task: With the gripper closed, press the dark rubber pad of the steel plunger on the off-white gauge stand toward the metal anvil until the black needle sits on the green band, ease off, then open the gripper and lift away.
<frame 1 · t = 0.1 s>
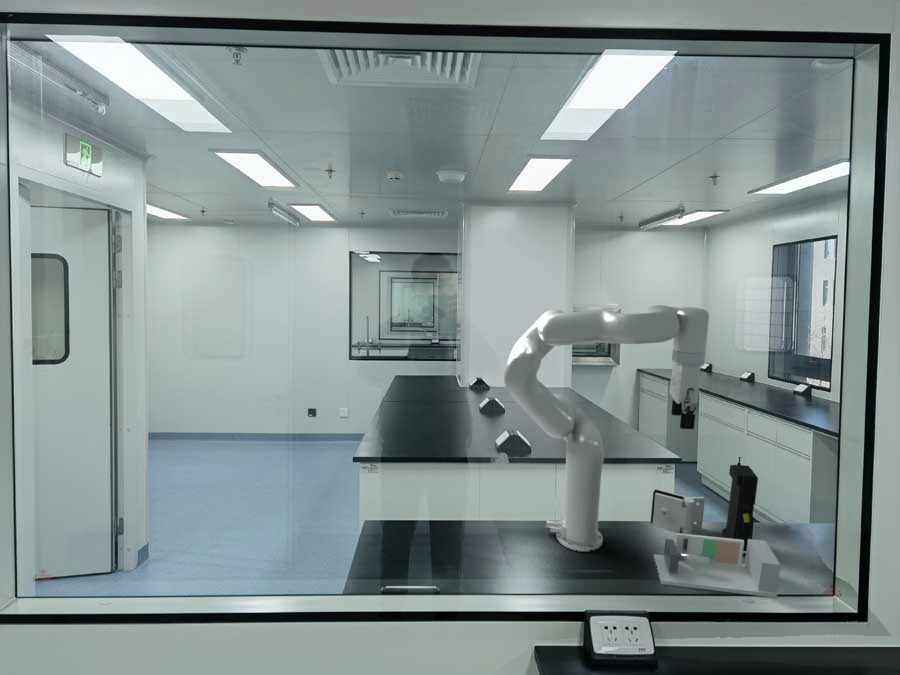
hand: (682, 421, 142), 37 cm above the lab bench, tool pointing down, fingers open, 9 cm apart
plunger: (690, 556, 138), point 5 cm above the lab bench, slide at 0.0 cm
gauge stand: (711, 576, 138), on the lab bench
portable radio: (736, 548, 150), on the lab bench
hinge: (676, 527, 160), on the lab bench
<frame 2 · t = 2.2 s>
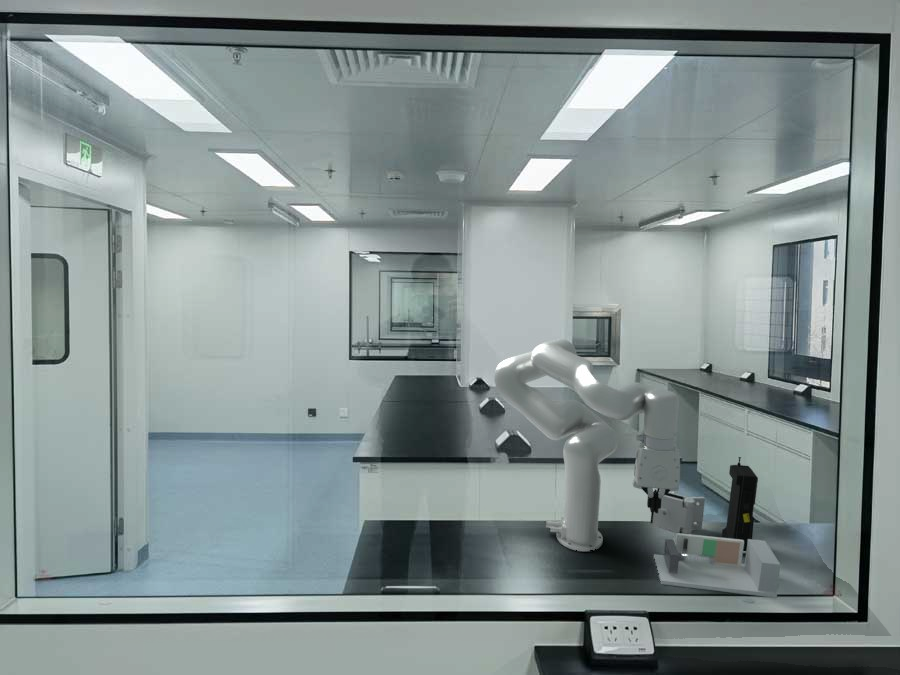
hand: (653, 510, 137), 17 cm above the lab bench, tool pointing down, fingers closed
nothing on the lab bench moved.
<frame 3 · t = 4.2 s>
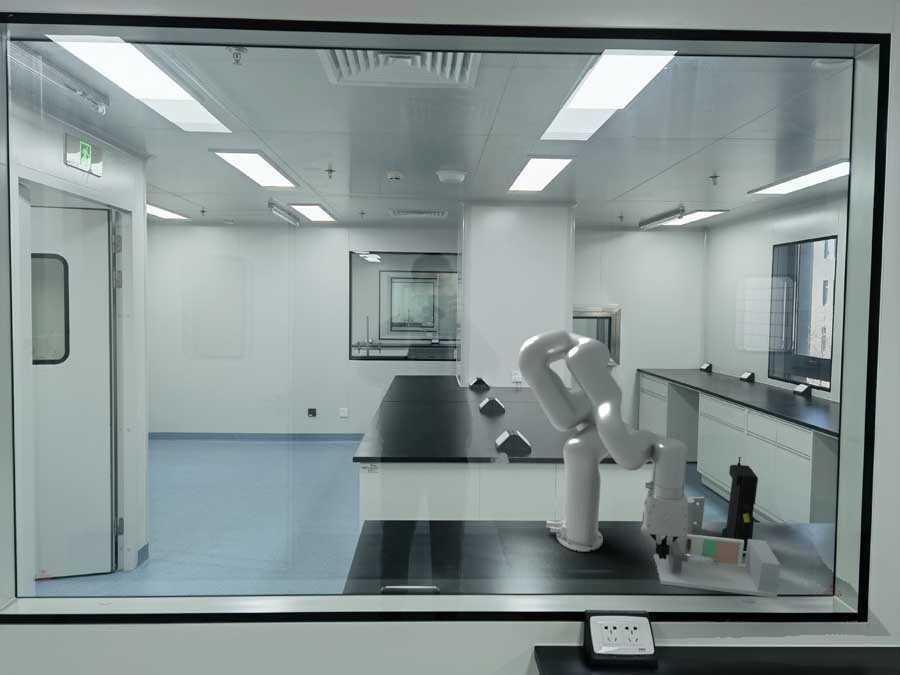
hand: (661, 555, 139), 4 cm above the lab bench, tool pointing down, fingers closed
plunger: (693, 557, 138), point 5 cm above the lab bench, slide at 0.8 cm, touching gripper
everything else where it was.
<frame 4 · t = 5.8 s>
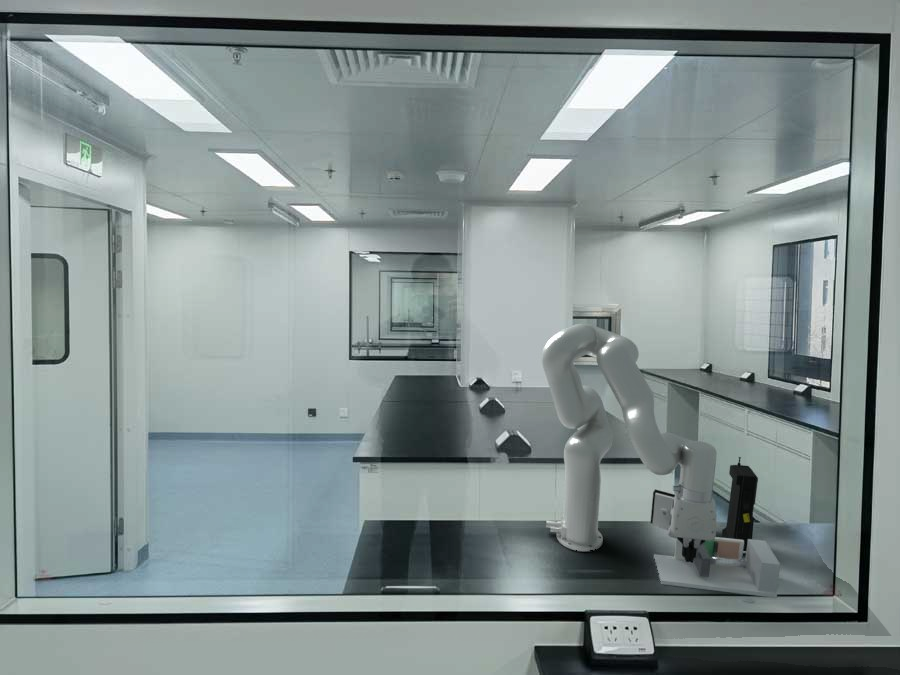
hand: (688, 559, 138), 4 cm above the lab bench, tool pointing down, fingers closed
plunger: (721, 560, 137), point 5 cm above the lab bench, slide at 7.2 cm, touching gripper
everything else where it was.
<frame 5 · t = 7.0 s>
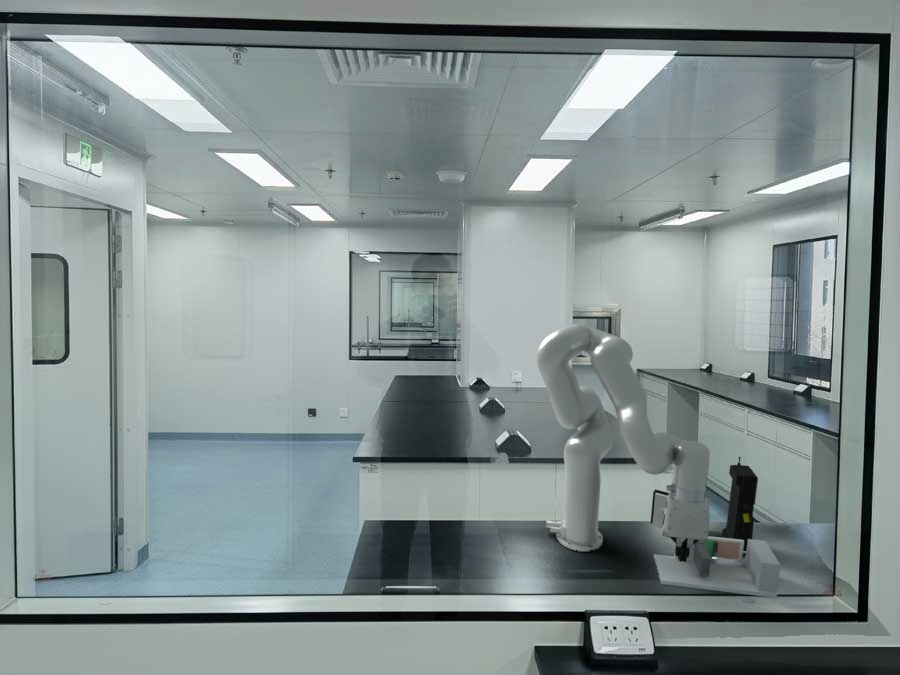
hand: (681, 558, 139), 4 cm above the lab bench, tool pointing down, fingers closed
plunger: (721, 560, 137), point 5 cm above the lab bench, slide at 7.2 cm
everything else where it was.
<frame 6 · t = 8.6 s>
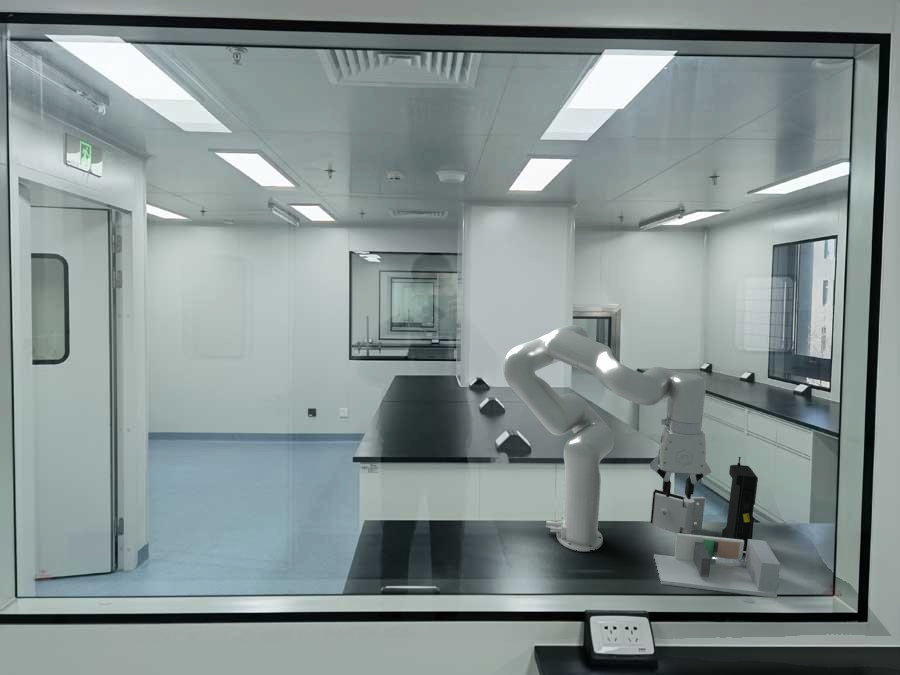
hand: (677, 494, 135), 21 cm above the lab bench, tool pointing down, fingers open, 4 cm apart
nothing on the lab bench moved.
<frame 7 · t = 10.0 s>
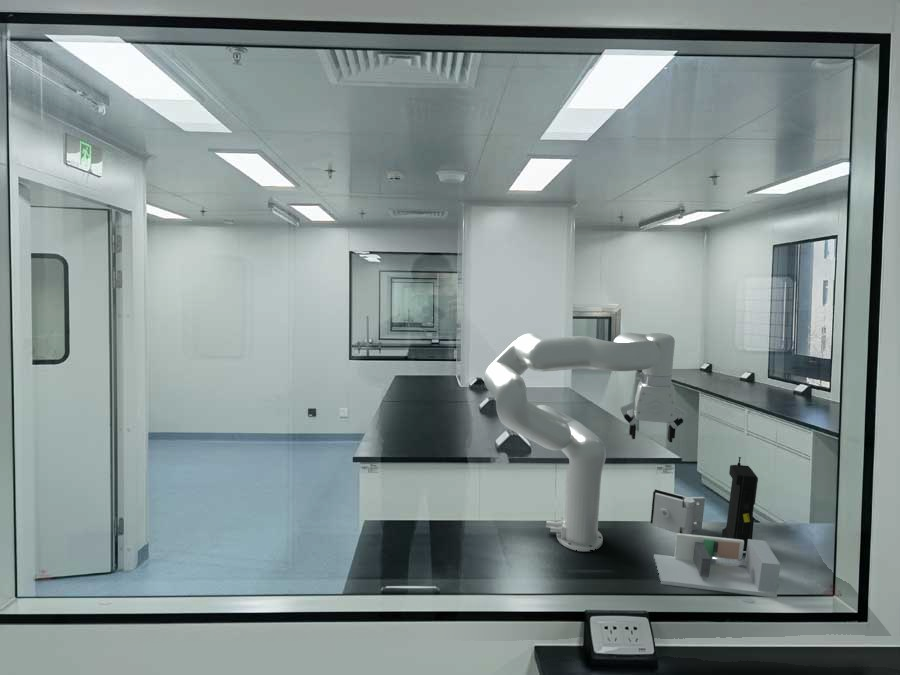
hand: (651, 438, 152), 28 cm above the lab bench, tool pointing down, fingers open, 9 cm apart
nothing on the lab bench moved.
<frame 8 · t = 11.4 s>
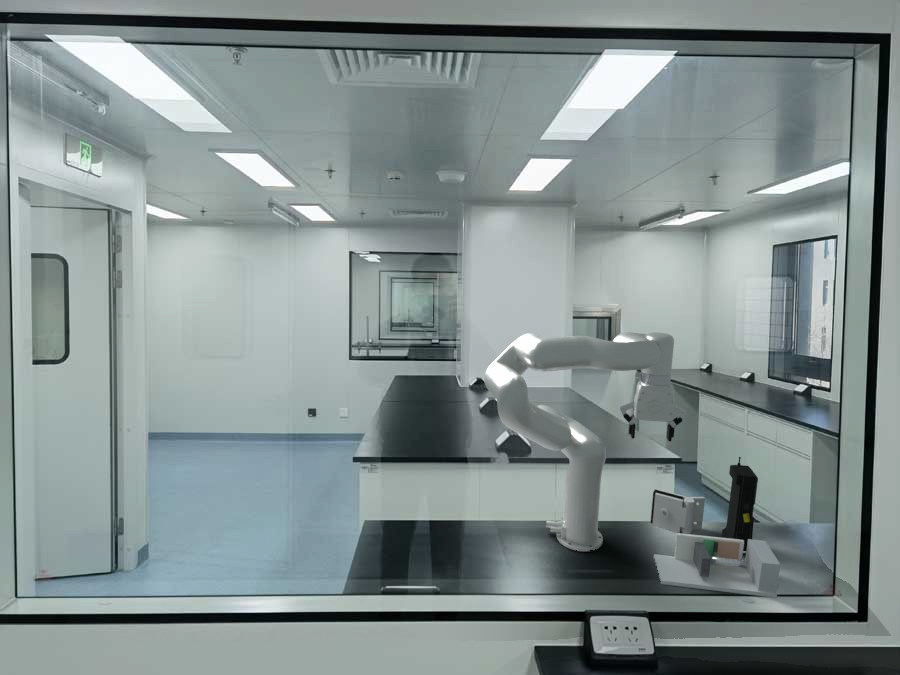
hand: (650, 438, 152), 28 cm above the lab bench, tool pointing down, fingers open, 9 cm apart
nothing on the lab bench moved.
at the end: plunger slide at 7.2 cm; the gripper is holding nothing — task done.
